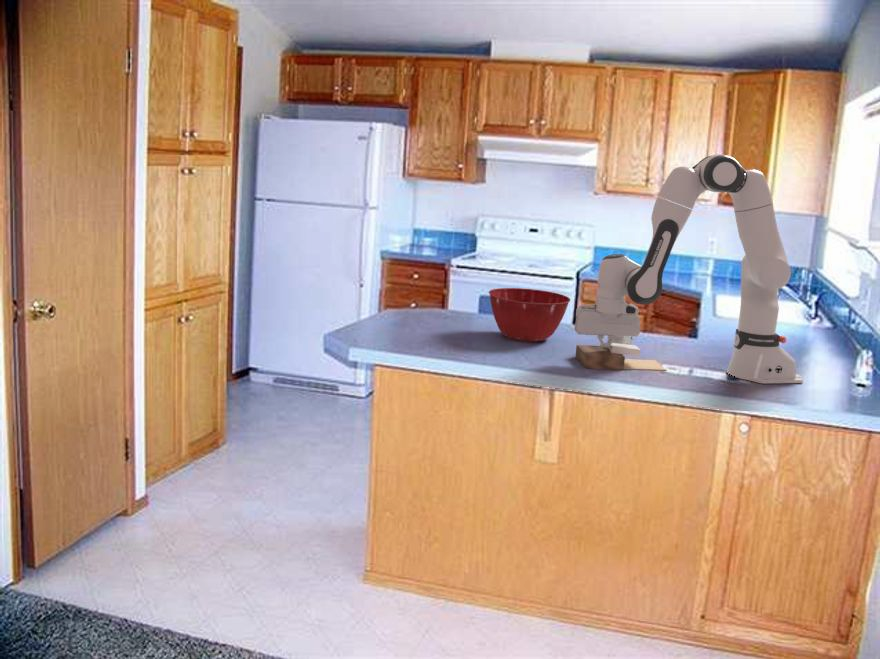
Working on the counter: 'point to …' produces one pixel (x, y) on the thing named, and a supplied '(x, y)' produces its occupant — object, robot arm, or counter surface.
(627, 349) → the white rectangular prism
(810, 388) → the counter surface
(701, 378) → the counter surface
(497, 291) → the mixing bowl
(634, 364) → the mat
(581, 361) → the brown box
